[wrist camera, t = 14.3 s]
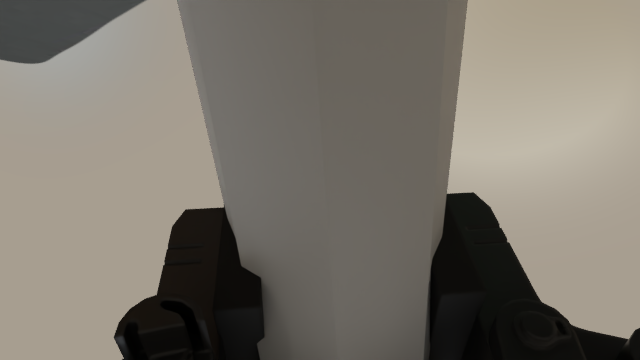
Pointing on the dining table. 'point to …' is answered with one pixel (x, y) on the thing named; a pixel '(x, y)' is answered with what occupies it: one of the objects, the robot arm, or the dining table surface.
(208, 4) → the salt shaker
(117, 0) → the dining table surface
